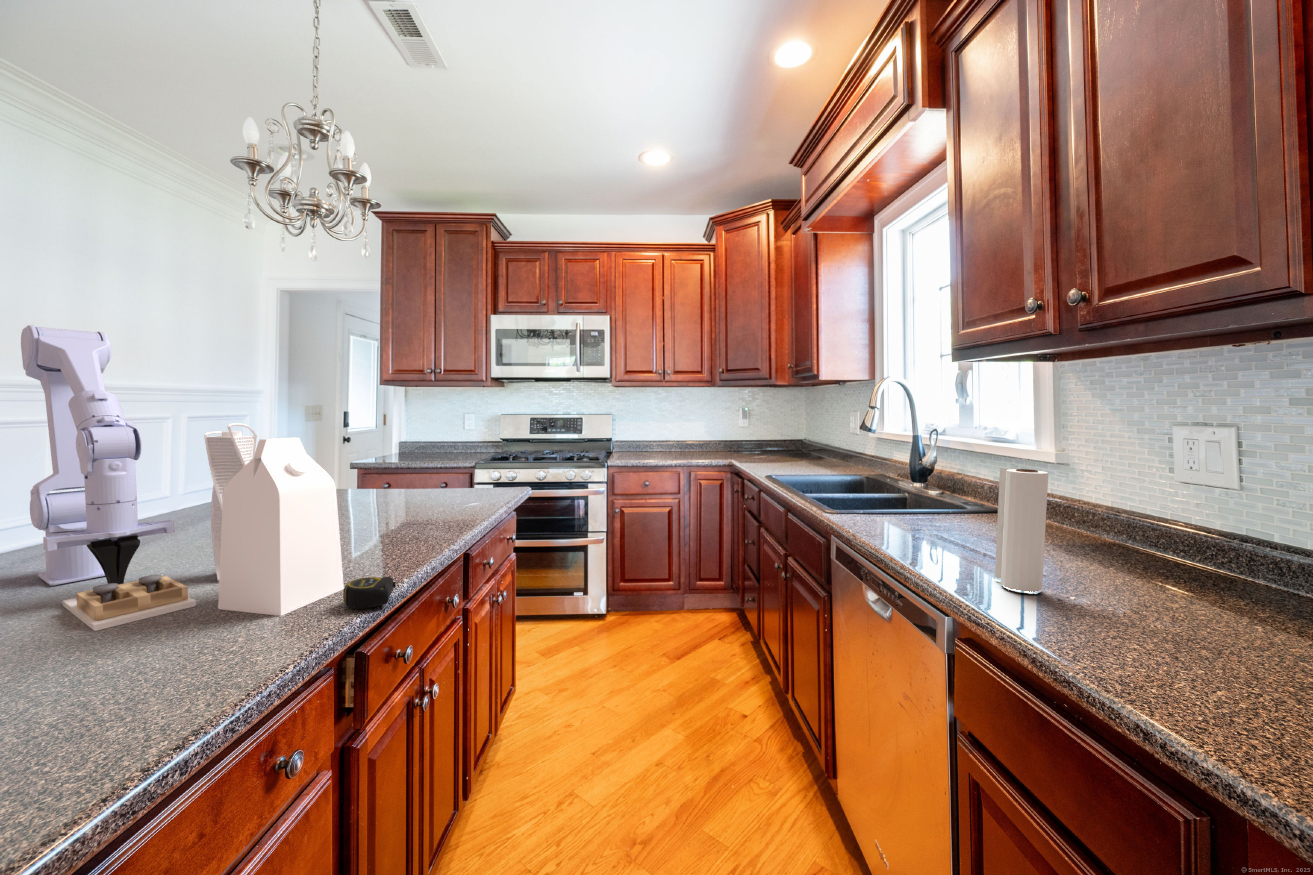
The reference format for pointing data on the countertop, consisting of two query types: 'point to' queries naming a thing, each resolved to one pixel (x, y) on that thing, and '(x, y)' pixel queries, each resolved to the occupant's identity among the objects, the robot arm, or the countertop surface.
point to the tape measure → (368, 592)
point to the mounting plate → (106, 596)
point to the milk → (279, 532)
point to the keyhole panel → (131, 598)
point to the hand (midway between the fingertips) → (115, 584)
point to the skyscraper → (225, 472)
